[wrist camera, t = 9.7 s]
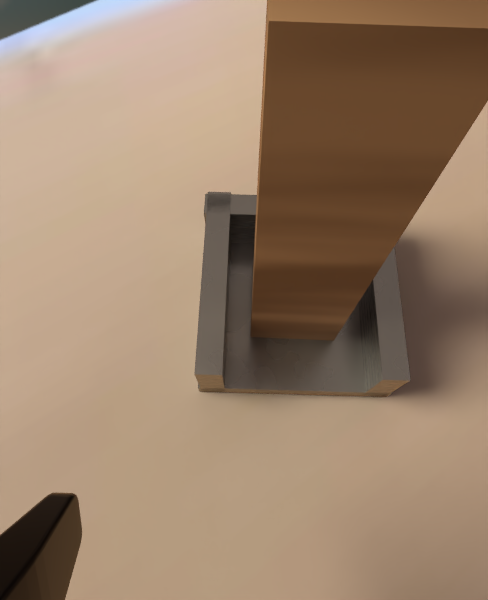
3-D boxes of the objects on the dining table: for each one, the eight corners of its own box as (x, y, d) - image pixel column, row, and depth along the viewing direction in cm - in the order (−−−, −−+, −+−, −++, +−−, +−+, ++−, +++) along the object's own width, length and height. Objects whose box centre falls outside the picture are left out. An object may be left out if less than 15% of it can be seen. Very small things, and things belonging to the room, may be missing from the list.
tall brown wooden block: (333, 340, 19) (532, 29, 6) (250, 336, 19) (268, 20, 6) (331, 266, 20) (487, -116, 7) (253, 262, 20) (273, -123, 7)
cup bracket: (386, 397, 19) (413, 380, 16) (199, 391, 19) (191, 374, 16) (370, 235, 22) (390, 196, 19) (210, 231, 22) (205, 191, 19)
